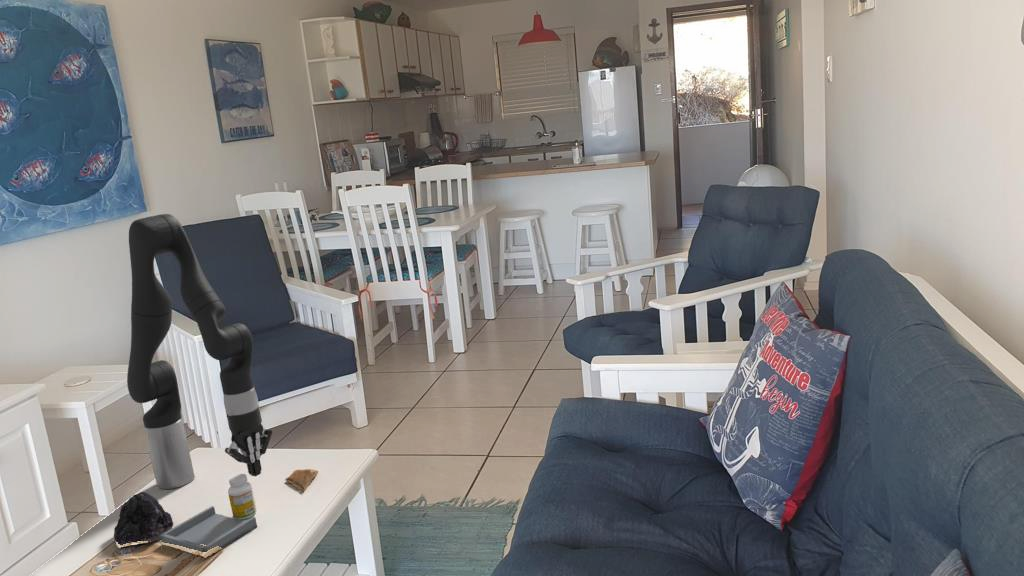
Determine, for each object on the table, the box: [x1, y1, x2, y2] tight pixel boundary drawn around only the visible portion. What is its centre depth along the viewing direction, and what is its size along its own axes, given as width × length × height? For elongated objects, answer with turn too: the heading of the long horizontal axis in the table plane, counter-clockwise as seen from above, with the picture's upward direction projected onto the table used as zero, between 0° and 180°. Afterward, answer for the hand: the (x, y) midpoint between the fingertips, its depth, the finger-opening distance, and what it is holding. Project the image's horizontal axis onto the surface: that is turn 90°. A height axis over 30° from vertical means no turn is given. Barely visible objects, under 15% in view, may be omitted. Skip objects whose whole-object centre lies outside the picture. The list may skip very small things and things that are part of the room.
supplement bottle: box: [227, 473, 257, 521], centre depth 187 cm, size 5×5×10 cm
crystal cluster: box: [113, 491, 174, 545], centre depth 184 cm, size 13×14×10 cm
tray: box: [160, 505, 258, 552], centre depth 180 cm, size 16×14×2 cm
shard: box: [284, 468, 319, 492], centre depth 202 cm, size 11×8×2 cm
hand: (255, 474), depth 191 cm, fingers closed
